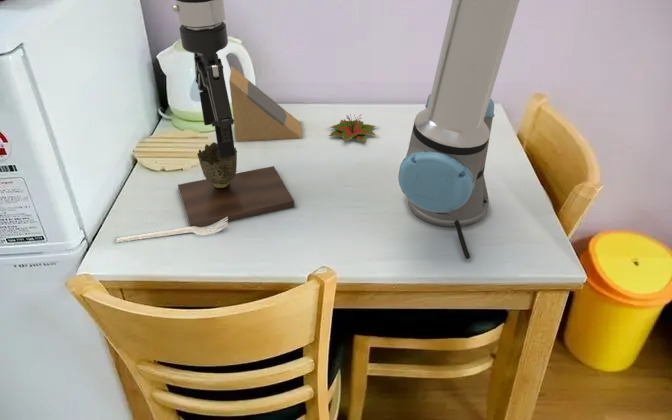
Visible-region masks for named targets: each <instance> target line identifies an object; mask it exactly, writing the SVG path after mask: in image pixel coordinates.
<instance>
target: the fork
mask: <svg viewBox="0 0 672 420" xmlns="http://www.w3.org/2000/svg"><path fill="white" fill-rule="evenodd" d="M226 218H228V217H226ZM226 218H224V219H222V220H220V221H218V222H216V223H214V224H212V225H210V226H206V227H196V226H192V227H190V226H186V227H180V228H179V227H178V228H174V229H173V228H172V229H167V230H161V231H160V230H159V231H154V232H148V233H141V234H135V235H130V236H129V235H128V236H122V237H121V236H120V237H116V243H123V242H130V241H137V240H144V239H151V238H160V237H168V236H174V235H175V236H176V235H180V234H188V233H193V234H195V235H196V236H207V235H214V234H217V233H218V232H219V233H220V231H222V230H223V229H225V228H226V227H227V226H228V225H229V222H228V221H227V220H228V219H226ZM225 219H226V220H225ZM224 220H225V221H224ZM222 221H223V222H222ZM226 221H227V222H226Z"/></svg>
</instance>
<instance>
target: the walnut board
mask: <svg viewBox="0 0 672 420" xmlns="http://www.w3.org/2000/svg"><path fill="white" fill-rule="evenodd" d="M177 188H178V192H179V196H180V199H181V202H182V206H183V209H184V212H185V216H186V219H187V222H188V225H189V227H192V226H196V227H206V226H209V227H211V226H210V225H212V224H214V223H216V222H218V221H220V220H222V219H224V218H226V217H228V218H226V219H228V220H227V221H228V222H227V221H226V222H227V223H229V222H233V221H237V220H242V219H247V218H252V217H257V216H260V215H261V216H262V215H265V214H269V213H270V214H271V213H275V212H279V211H283V210H288V209H289V210H290V209H292V208H293V209H294V208H295V200H294V198H293V197H292V195H291V193H290V191H289V190H288V188H287V186H286V185H285V182H284V181H283V179H282V178H281V176H280V174H279V172H278V171H277V169H276V167H275V166H274V165H273V166H266V167H262V168H256V169H252V170H246V171H242V172H241V171H240V172H236V174H235V176H234V178H233V179H232V180H231V184H230V186H229V187H228V188H227V189H224V190H218V189H215V188H214V187H213V185H212V183H211V182H209V181H208V180H207V179H206V178H204V179H200V180H195V181H190V182H184V183H179V184H177ZM226 219H225V220H226ZM225 220H224V221H225ZM222 222H223V221H222Z"/></svg>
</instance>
